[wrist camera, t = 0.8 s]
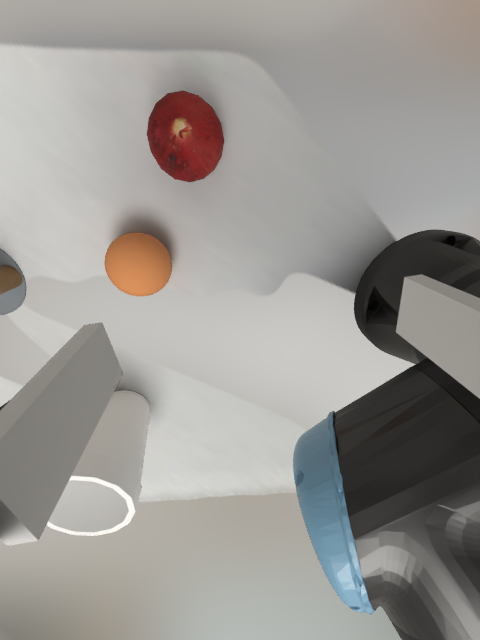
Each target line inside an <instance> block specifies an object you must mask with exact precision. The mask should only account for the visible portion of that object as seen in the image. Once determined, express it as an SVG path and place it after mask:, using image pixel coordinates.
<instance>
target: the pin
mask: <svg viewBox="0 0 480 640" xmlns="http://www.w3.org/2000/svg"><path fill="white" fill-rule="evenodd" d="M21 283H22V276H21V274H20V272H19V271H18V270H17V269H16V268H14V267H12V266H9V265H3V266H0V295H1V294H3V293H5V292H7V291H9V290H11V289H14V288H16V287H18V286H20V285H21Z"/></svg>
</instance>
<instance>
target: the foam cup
mask: <svg viewBox="0 0 480 640" xmlns="http://www.w3.org/2000/svg"><path fill="white" fill-rule="evenodd" d="M149 418H150V406H149V403H148V401H147V400H146V399H145V398H144V397H143V396H142V395H140V394H138V393H136V392H134V391H127V390H121V391H116V392H114V393H113V395H112V397H111V399H110V401H109V403H108V405H107V407H106V409H105V411H104V413H103V415H102V417H101V419H100V420H99V422H98V424H97V426H96V428H95V430H94V432H93V434H92V436H91V438H90V440H89V442H88V444H87V446H86V448H85V450H84V452H83V454H82V456H81V458H80V460H79V462H78V464H77V466H76V468H75V470H74V472H73V473H72V475H71V477H70V479H69V481H68V483H67V485H66V487H65V489H64V491H63V493H62V495H61V497H60V499H59V501H58V503H57V505H56V507H55V509H54V511H53V513H52V515H51V517H50V519H49V521H48V523H47V525H48V526H49V527H50V528H52V529H55V530H58V531H62V532H65V533H69V534H72V535H89V536H96V535H101V534H106V533H111V532H115V531H117V530H118V529H120V528H122V527H123V526H125V525H127V524H129V522H130V521H131V518H132V517H133V515H134V513H135V511H136V507H137V503H138V500H139V496H140V492H141V488H142V486H141V475H142V468H143V461H144V454H145V447H146V439H147V432H148V425H149Z"/></svg>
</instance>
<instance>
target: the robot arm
mask: <svg viewBox="0 0 480 640" xmlns="http://www.w3.org/2000/svg"><path fill="white" fill-rule="evenodd" d="M354 313H355V318H356V322H357V325H358V327H359V329H360V330H361V332H362V333H363V334H364V336H366V338H367V339H368V340H370V341H371V342H372V343H373V344H374V345H375V346H376V347H377V348H379V349H380V350H382V351H384V352H386V353H388V354H390V355H393V356H396V357H398V358H401V359H404V360H406V361H409V362H411V363H414V364H416V365H414V366H412V367H410V368H409V369H407V370H405V371H404V372H402V373H400V374H399V375H397V376H395V377H394V378H392V379H391V380H389V381H387V382H386V383H384V384H383V385H381V386H379V387H377V388H376V389H374V390H372V391H371V392H369V393H367V394H366V395H364V396H362V397H361V398H359V399H357V400H356V401H354V402H352V403H351V404H349V405H347V406H346V407H344V408H343V409H341V410H339V411H337V412H336V413H335V412H334V411H333V412H330V413H329V415H328V417H327V418H326V419H324V420H323V421H322V422H320V423H318V424H317V425H315V426H314V427H312V428H311V429H310V430H308V431H307V432H305V433H304V434H303V435H302V436H301V437H300V438H299V440H298V441H297V444H296V446H295V450H294V457H293V468H294V479H295V484H296V490H297V496H298V500H299V504H300V508H301V511H302V515H303V519H304V522H305V525H306V528H307V531H308V534H309V537H310V540H311V542H312V545H313V548H314V550H315V553H316V555H317V557H318V560H319V562H320V564H321V566H322V568H323V570H324V572H325V574H326V577H327V578H328V580H329V582H330V584H331V585H332V587H333V589H334V590H335V592H336V593H337V595H338V596H339V598H340V599H341V600H342V601H343V602H344V603H345V604H346V605H347V606H349V607H350V608H351V609H353V610H354V611H356V612H366V613H368V614H370V615H371V614H372V613H373V612H374V611H375V610H376V609H377V608H378V607H379V606H381V607H382V608H383V609H384V611H385V612H386V614H387V615H388V617H389V619H390V620H391V622H392V624H393V626H394V627H395V629H396V631H397V632H398V634H399V636H400V637H401V639H402V640H480V241H479V240H477V239H475V238H473V237H471V236H469V235H466V234H462V233H458V232H451V231H445V230H426V231H421V232H417V233H414V234H411V235H409V236H406V237H404V238H402V239H400V240H398V241H397V242H395V243H394V244H392V245H391V246H389V247H388V248H387V249H385V250H384V251H383V252H382V253H381V254H380V255H379V256H378V257H377V258H376V259H375V260H374V261H373V262H372V263H371V265H370V266H369V267H368V269H367V270H366V272H365V273H364V275H363V277H362V279H361V281H360V283H359V286H358V288H357V291H356V295H355V302H354ZM122 375H123V372H122V370H121V367H120V365H119V362H118V360H117V357H116V355H115V353H114V350H113V348H112V345H111V343H110V340H109V338H108V335H107V333H106V331H105V328H104V326H103V323H95V324H89V325H84V326H83V327H82V328H81V329H80V330H79V331H78V332H77V333H76V334H75V335H74V336H73V337H72V338H71V339H70V340H69V341H68V342H67V343H66V344H65V345H64V346H63V347H62V348H61V349H60V350H59V351H58V352H57V353H56V354H55V355H54V356H53V357H52V358H51V359H50V360H49V361H48V363H47V364H46V365H45V366H44V367H43V368H42V369H41V370H40V371H39V372H38V373H37V374H36V375H35V376H34V377H33V378H32V379H31V380H30V381H29V382H28V383H27V384H26V385H25V386H24V387H23V388H22V389H21V390H20V391H19V392H18V393H17V394H16V395H15V396H14V397H13V398H12V399H11V400H10V401H8V402H7V403H6V404H4V405H3V406H1V407H0V539H1V540H2V541H3V542H4V543H5V544H6V545H7V546H9V545H15V544H21V543H28V542H34V541H38V540H39V538H40V536H41V534H42V532H43V530H44V528H45V526H46V525H47V523H48V521H49V519H50V517H51V515H52V513H53V511H54V509H55V507H56V505H57V503H58V501H59V499H60V497H61V495H62V493H63V491H64V489H65V487H66V485H67V483H68V481H69V479H70V477H71V475H72V473H73V472H74V470H75V468H76V466H77V464H78V462H79V460H80V458H81V456H82V454H83V452H84V450H85V448H86V446H87V444H88V442H89V440H90V438H91V436H92V434H93V432H94V430H95V428H96V426H97V424H98V422H99V420H100V419H101V417H102V415H103V413H104V411H105V409H106V407H107V405H108V403H109V401H110V399H111V397H112V395H113V393H114V391H115V389H116V387H117V385H118V383H119V381H120V379H121V377H122Z"/></svg>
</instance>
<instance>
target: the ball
mask: <svg viewBox="0 0 480 640" xmlns="http://www.w3.org/2000/svg"><path fill="white" fill-rule="evenodd" d="M105 269H106V272H107V275H108V277H109V279H110V280H111V282H112V283H113V284H114V285H115V286H116V287H117V288H118V289H120V290H121V291H123V292H125V293H127V294H130V295H133V296H148V295H152V294H154V293H156V292H158V291H159V290H161V289H162V288H163V287H164V286H165V285H166V283H167V282H168V280H169V278H170V275H171V271H172V263H171V258H170V255H169V253H168V251H167V249H166V248H165V246H164V245H163V244H162V243H161V242H160V241H159V240H157V239H156V238H154V237H153V236H150V235H148V234H144V233H138V232H134V233H128V234H124V235H122V236H120V237H118V238H117V239H115V240H114V241H113V242H112V243H111V245H110V246H109V248H108V250H107V252H106V256H105Z"/></svg>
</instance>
